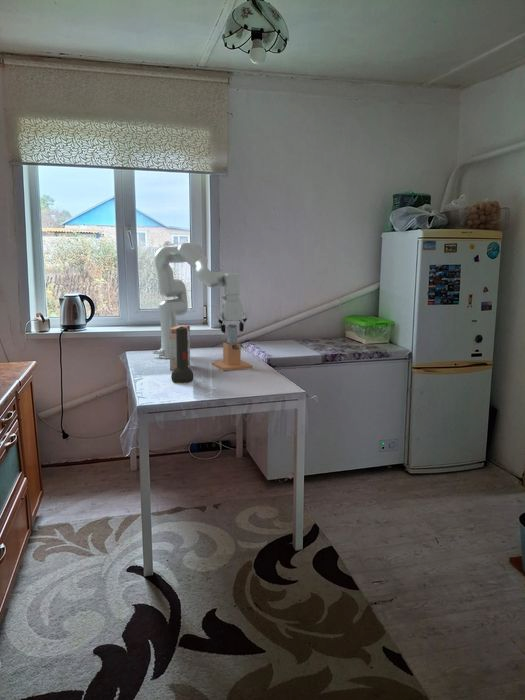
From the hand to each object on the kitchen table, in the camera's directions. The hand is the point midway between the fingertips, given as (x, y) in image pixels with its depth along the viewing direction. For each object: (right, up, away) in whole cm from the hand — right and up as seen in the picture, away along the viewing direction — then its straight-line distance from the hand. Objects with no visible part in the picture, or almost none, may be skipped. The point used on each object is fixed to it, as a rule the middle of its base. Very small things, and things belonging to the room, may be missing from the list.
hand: (232, 331), depth 255 cm
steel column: (0, -16, +3) cm, 16 cm away
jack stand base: (0, -18, +3) cm, 18 cm away
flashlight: (-21, -23, -27) cm, 41 cm away
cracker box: (-26, -18, -1) cm, 32 cm away
